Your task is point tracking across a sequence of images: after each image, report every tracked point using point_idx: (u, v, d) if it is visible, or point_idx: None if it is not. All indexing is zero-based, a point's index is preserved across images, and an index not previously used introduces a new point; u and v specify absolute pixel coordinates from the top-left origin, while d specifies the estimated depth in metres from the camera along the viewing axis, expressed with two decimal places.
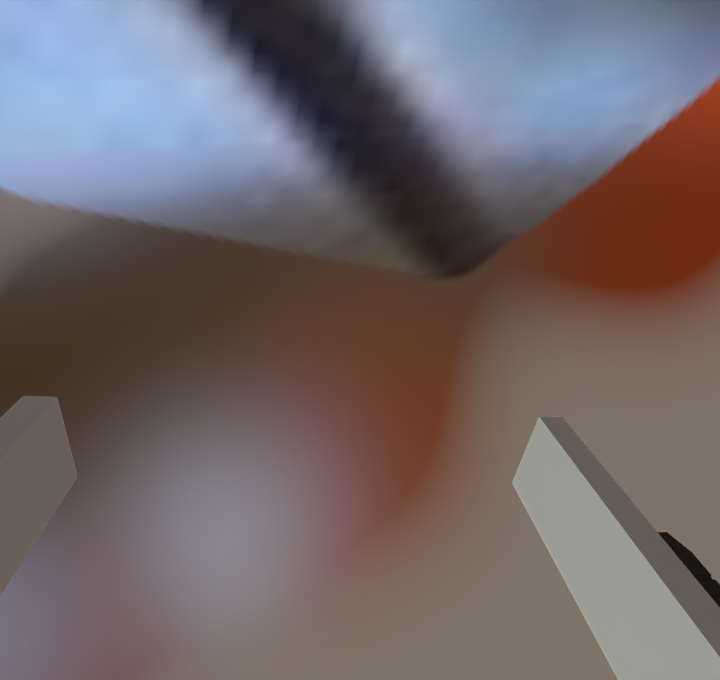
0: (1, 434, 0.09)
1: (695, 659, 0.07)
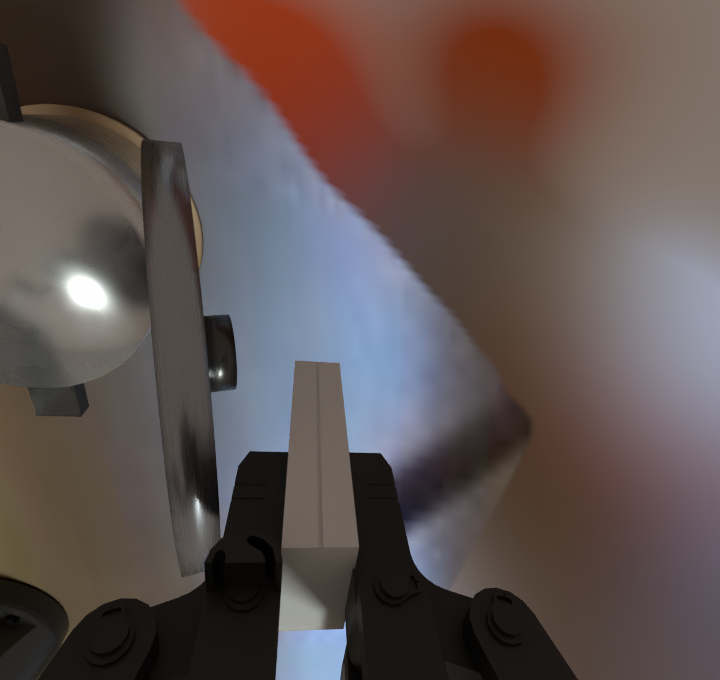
0: (304, 386, 0.12)
1: None
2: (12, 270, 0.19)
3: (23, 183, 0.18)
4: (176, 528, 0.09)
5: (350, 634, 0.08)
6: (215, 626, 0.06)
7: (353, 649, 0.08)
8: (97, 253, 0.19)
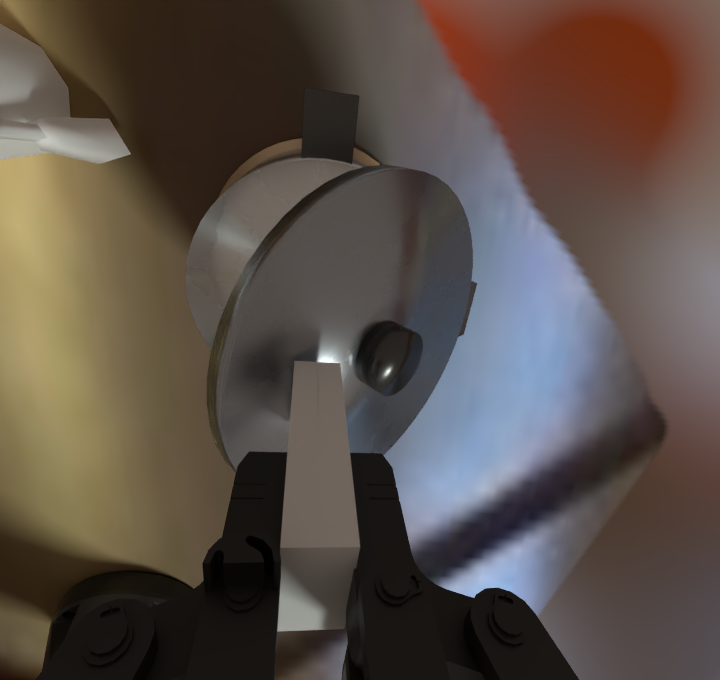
0: (304, 385, 0.12)
1: None
2: None
3: None
4: (208, 414, 0.13)
5: (351, 634, 0.08)
6: (214, 626, 0.06)
7: (354, 649, 0.08)
8: None
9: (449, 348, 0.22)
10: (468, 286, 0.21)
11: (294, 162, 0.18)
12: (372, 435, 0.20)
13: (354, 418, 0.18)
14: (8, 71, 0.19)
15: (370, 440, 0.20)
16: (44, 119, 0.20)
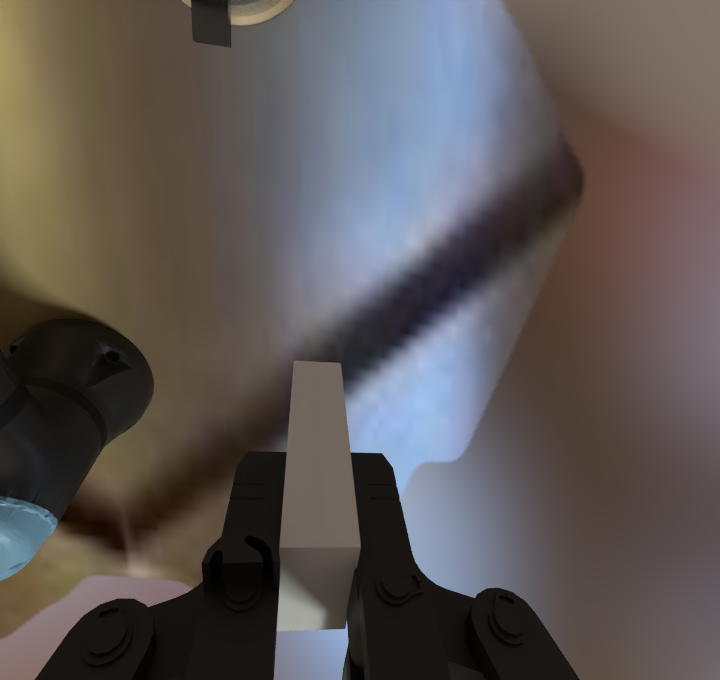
0: (303, 385, 0.12)
1: None
2: None
3: None
4: None
5: (352, 634, 0.08)
6: (212, 626, 0.06)
7: (355, 649, 0.08)
8: None
9: None
10: None
11: None
12: None
13: None
14: None
15: None
16: None
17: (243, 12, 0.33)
